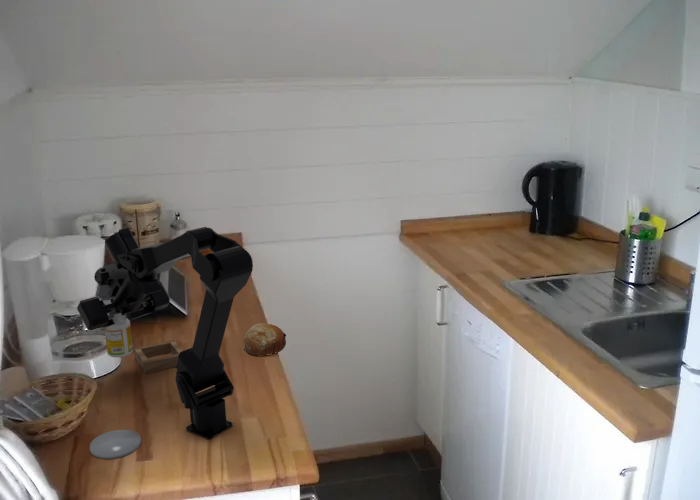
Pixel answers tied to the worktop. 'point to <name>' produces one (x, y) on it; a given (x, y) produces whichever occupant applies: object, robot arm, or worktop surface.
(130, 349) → the supplement bottle
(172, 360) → the rectangular wooden frame
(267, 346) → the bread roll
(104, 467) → the worktop surface
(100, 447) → the slate coaster
